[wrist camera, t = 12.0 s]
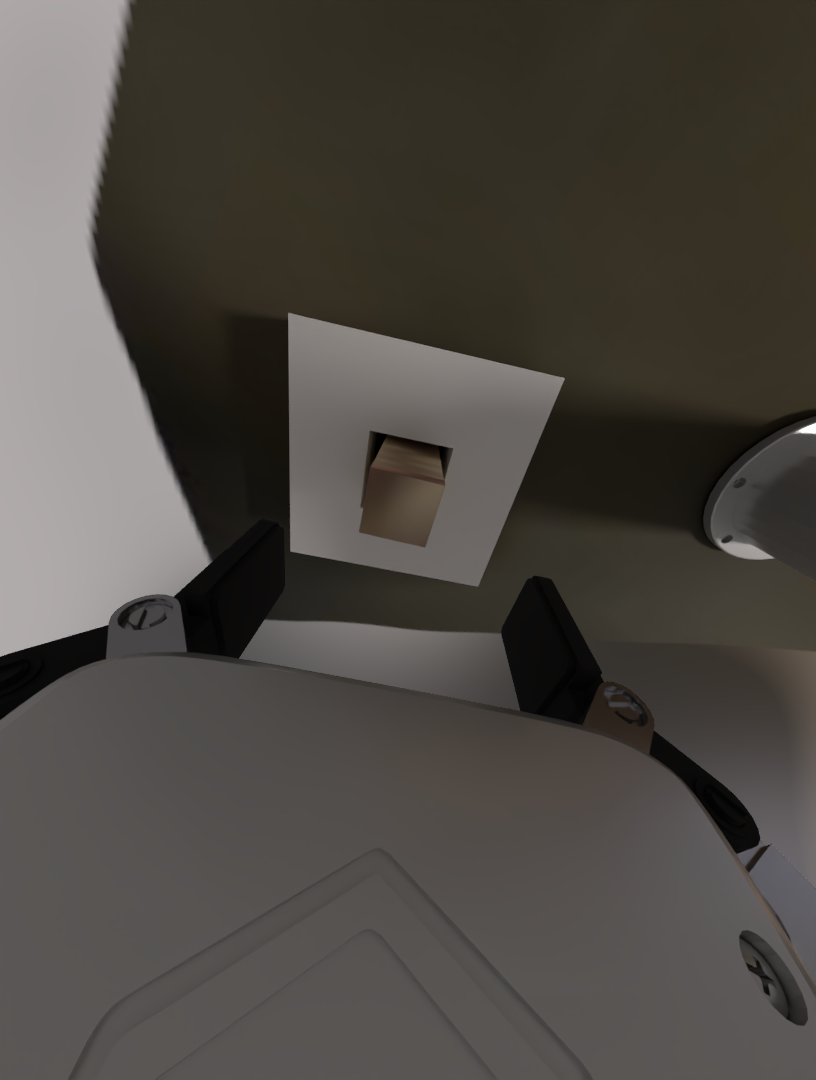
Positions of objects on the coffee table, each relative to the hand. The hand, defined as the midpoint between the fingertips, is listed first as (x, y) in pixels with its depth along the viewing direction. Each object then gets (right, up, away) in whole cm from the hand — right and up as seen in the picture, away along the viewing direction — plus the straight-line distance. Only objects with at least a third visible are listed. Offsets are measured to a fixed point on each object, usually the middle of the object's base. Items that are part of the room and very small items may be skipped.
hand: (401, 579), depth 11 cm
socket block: (0, +8, +14) cm, 16 cm away
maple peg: (0, +8, +14) cm, 16 cm away
